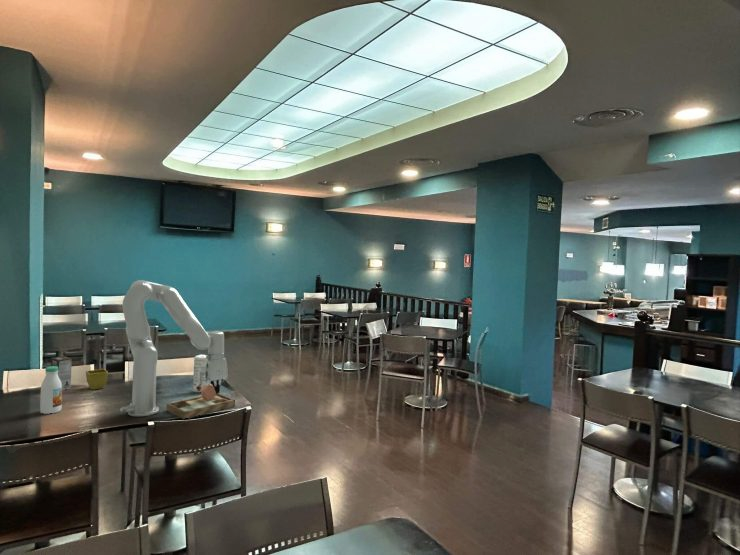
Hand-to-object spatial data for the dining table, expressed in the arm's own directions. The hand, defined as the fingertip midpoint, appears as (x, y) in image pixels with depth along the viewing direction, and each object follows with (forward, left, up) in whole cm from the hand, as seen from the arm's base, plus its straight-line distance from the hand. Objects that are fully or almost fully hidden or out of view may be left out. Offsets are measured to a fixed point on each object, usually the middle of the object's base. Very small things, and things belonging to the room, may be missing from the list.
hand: (216, 392), depth 219 cm
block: (-3, 0, -1) cm, 4 cm away
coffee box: (-45, +74, -5) cm, 86 cm away
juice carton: (+5, +22, -5) cm, 23 cm away
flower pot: (-32, +63, -5) cm, 70 cm away
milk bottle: (-59, +38, -5) cm, 70 cm away
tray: (-10, -3, -5) cm, 11 cm away
